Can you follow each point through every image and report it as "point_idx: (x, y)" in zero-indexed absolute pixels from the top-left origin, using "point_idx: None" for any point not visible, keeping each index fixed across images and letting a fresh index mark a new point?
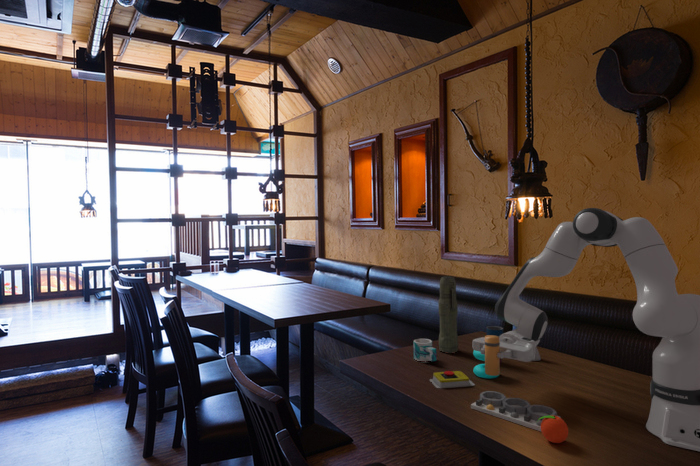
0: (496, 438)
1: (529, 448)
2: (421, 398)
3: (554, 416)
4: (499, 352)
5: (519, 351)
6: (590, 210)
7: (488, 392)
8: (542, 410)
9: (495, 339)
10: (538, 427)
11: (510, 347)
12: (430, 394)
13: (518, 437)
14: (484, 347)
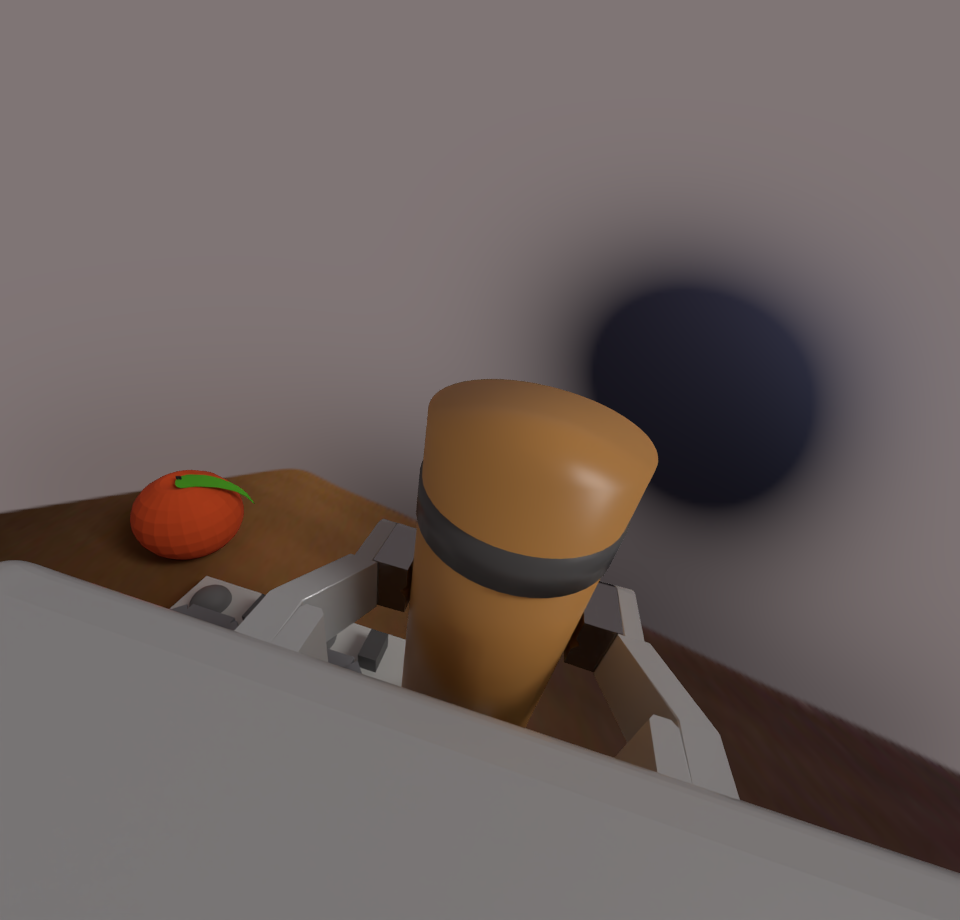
0: (386, 514)
1: (300, 498)
2: (737, 692)
3: (179, 476)
4: (408, 536)
5: (101, 587)
6: None
7: None
8: None
9: (466, 389)
10: (231, 586)
11: (220, 658)
12: (766, 772)
13: (322, 535)
14: (639, 654)
